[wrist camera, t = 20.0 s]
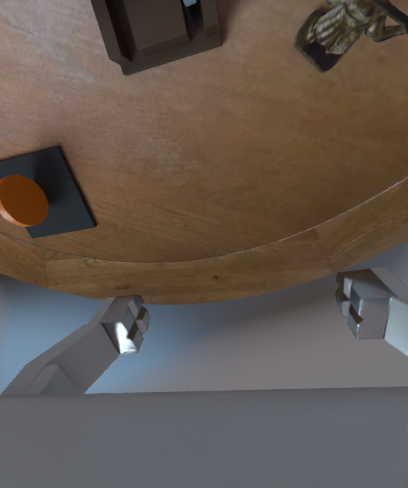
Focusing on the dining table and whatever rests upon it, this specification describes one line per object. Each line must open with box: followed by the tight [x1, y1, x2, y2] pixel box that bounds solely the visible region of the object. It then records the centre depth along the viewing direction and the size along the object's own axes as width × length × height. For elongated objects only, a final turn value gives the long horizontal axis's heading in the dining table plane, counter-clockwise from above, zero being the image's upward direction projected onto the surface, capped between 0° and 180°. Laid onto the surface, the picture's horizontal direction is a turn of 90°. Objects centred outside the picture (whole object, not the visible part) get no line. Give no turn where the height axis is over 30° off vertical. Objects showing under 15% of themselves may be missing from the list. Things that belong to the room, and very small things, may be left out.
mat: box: [0, 146, 96, 238], centre depth 40 cm, size 14×14×1 cm
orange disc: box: [0, 175, 48, 227], centre depth 36 cm, size 8×1×8 cm, turn 12°
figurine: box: [294, 0, 408, 73], centre depth 21 cm, size 7×4×15 cm, turn 53°
